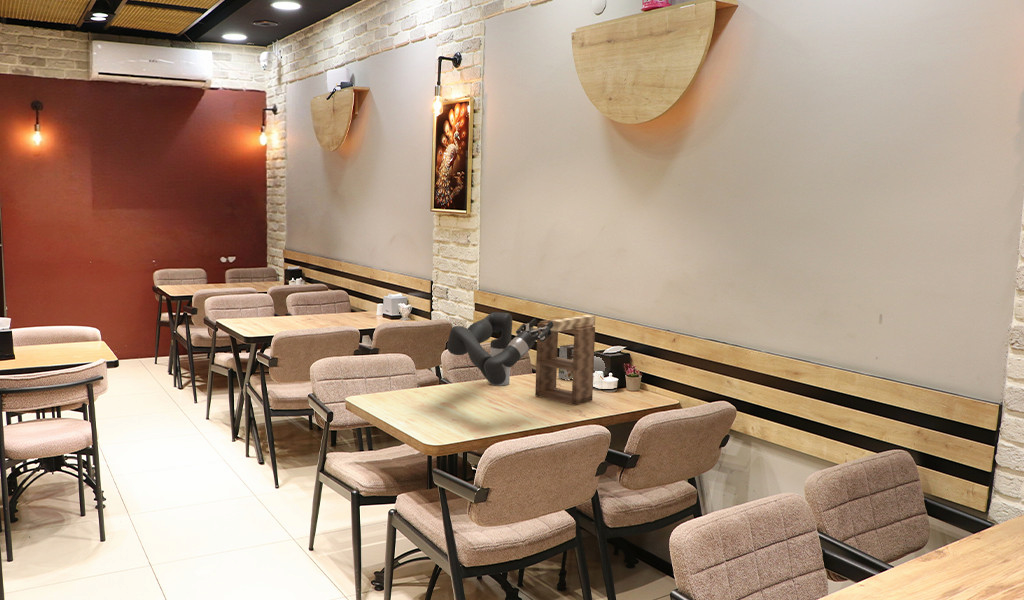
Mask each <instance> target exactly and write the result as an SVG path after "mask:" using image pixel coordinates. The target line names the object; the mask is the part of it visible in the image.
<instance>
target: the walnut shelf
mask: <svg viewBox="0 0 1024 600" xmlns="http://www.w3.org/2000/svg"><path fill="white" fill-rule="evenodd" d="M558 319H559V318H554V319H547V320H541V321H539V322H537V324H536V325H537V326H536V327H537V328H536V329H538V328H540V327H541V328H543V327H545V326H546V325H547V324H548V323H549V322H550V321H551V320H558ZM544 331H545V330H543V332H544ZM551 332H552V334H551V335H550V336H549V337H548V338H546V339H545V340H544V341H541V339H538V340H536V360H535V361H536V363H535V364H536V365H535V391H534V392H535V394H534V395H537V396H536V397H539V396H541V397H540V398H543V397H544V399H547V398H548V400H553V401H556V402H560V403H565V404H569V405H573V406H577V405H578V406H579V405H581V404H585V403H587V402H591V401H593V394H594V388H593V384H594V372H595V371H594V354H595V344H596V343H595V341H596V326H594V325H593V324H588V325H582V326H576V327H574V329H569V330H564V331H558V332H557V331H551ZM559 332H560V333H566V334H572V335H573V345H574V353H573V360H569V359H564V358H559V356H558V349H559V348H558V347H559V346H558V343H559V342H558V341H559ZM540 334H541V331H539V335H540ZM547 334H548V333H547ZM559 368H560V369H564V370H569V371H573V380H571V381H572V383H571V384H572V387H571V390H569V389H564V388H560V387H557V378H558V374H557V372H558V370H557V369H559Z"/></svg>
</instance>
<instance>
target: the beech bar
mask: <svg viewBox="0 0 1024 600" xmlns="http://www.w3.org/2000/svg"><path fill="white" fill-rule="evenodd" d="M557 319H558V320H553V319H550V320H551V321H552V322H553V325H554V326H553V327H552V328H551V329H550V330H551V331H557V332H558V333H559V331H564V330H569V329H574V327H576V326H582V325H588V324H593V326H596V315H592V314H585V315H580V316H571V317H566V318H560V319H559V318H557Z"/></svg>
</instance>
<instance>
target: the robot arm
mask: <svg viewBox="0 0 1024 600" xmlns="http://www.w3.org/2000/svg"><path fill="white" fill-rule="evenodd" d="M537 324H538V321H537V318H533V319H531V321H530V322H528V323H522V324H521V325H520V326H519V328H517V329H516V330H515V333H516V336H515V337H514V338H513V339H512V333H513V332H512V331H513V315H511V313H509V312H500V311H494V312H491V313H489V314H488V315H486V316H485V317H484V318H482V319H479V320H477V321H475V322H473V323H471V324H470V325H469V326H468V327H466V326H461V325H456V326H453V327H451V329H450V330H449V331H450V332H449V336H448V339H447V344H446V348H447V350H448V352H449V353H450V354H451V355H454V356H464V355H466V354H468V357H469V359H470V361H471V363H472V364H473V365H474V366H475V367H476V368H477V369H478V370H479V371H480V372H481V373H482V375H483V376H484V378H485V379H486V381H487V382H489V384H490V385H492V386H503V387H504V386H509V384H510V376H511V374H510V372H511V371H510V370H511V367H513V366H515V364H517V362H518V361H520V359H521V358H524V356H526V354H527V353H528V352H529V351H530V350H531V349H532V348H533V347H534V346H535V344H536V342H537V340H538V339H541V341H544V340H545V339H546V338H548V337H549V336H550V335H551V334H552V332H551V330H550V329H551V328H552V327H553V326H554V325H553V322H552V321H550V322H549V323H548V324H547V325H546V326H545V327H543V328H541V327H540V328H538V329H537V328H534V327H535V326H536V325H537ZM543 330H545V331H544V332H543ZM539 331H541V334H540V335H539ZM493 333H501V336H500V337H499V338H495V339H492V340H491V341H490V343H489V344H490V351H489V352H487V350H485V349H484V348H483V347H482V345H481V344H482V343H484V342H486V341H487V340H489V339H490V338H491V337H492V335H493ZM547 333H548V334H547Z"/></svg>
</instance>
